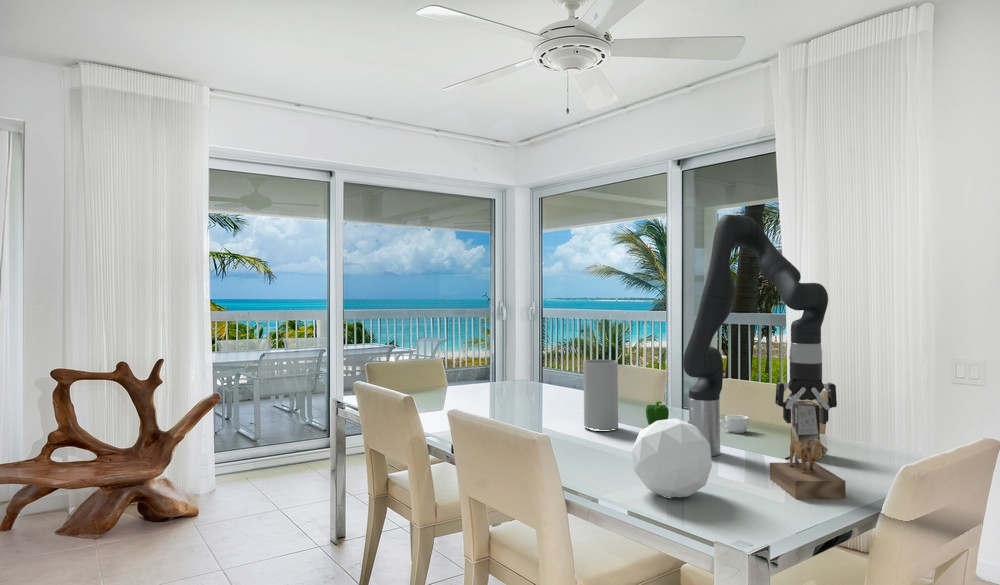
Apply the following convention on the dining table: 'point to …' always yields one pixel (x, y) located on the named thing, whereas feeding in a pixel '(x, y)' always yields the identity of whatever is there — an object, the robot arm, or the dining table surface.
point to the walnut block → (807, 481)
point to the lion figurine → (806, 453)
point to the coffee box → (805, 421)
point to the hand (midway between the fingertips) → (805, 423)
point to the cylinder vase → (601, 394)
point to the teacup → (736, 423)
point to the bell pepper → (656, 412)
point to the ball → (672, 458)
